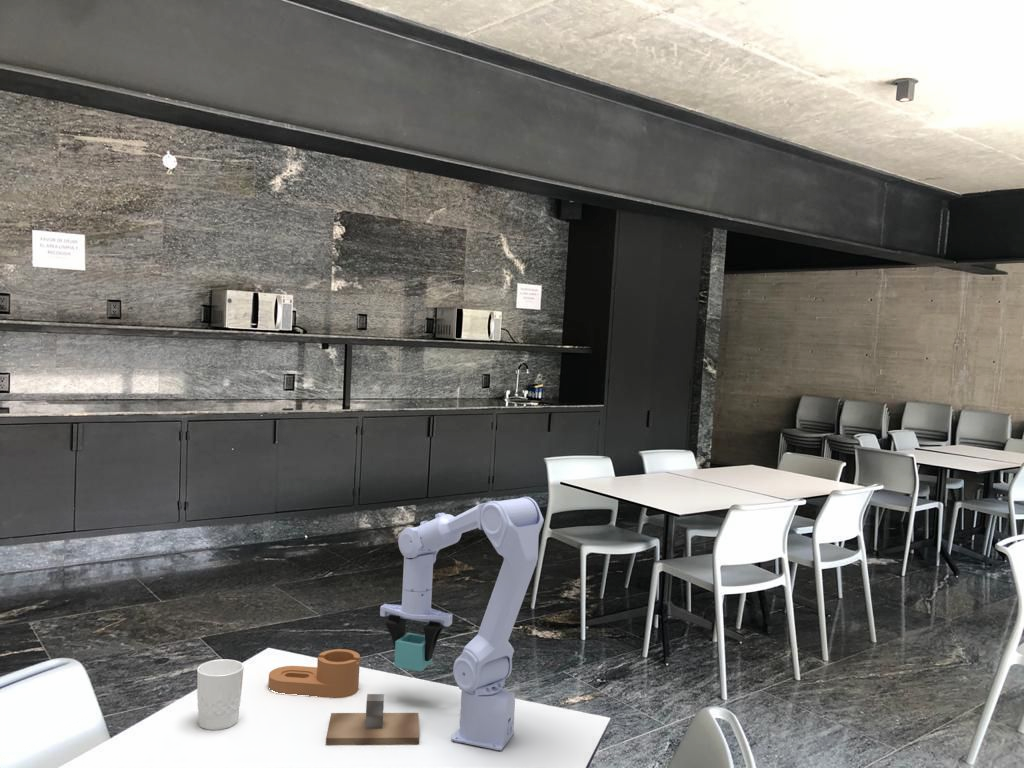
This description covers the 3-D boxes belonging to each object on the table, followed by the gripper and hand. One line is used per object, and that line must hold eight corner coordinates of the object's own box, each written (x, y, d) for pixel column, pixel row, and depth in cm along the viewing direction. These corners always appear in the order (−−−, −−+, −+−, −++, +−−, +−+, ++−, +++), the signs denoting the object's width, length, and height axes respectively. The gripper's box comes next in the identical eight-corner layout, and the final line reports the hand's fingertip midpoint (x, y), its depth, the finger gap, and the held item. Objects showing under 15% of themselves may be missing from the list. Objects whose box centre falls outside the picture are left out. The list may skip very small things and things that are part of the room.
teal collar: (432, 662, 162) (433, 636, 162) (420, 671, 156) (422, 645, 156) (406, 657, 163) (407, 632, 163) (394, 666, 158) (395, 641, 158)
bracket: (362, 683, 169) (364, 650, 168) (352, 700, 160) (354, 665, 160) (276, 677, 169) (277, 644, 169) (262, 693, 161) (263, 659, 161)
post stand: (418, 719, 153) (419, 686, 153) (418, 744, 143) (420, 709, 143) (330, 719, 151) (332, 686, 151) (325, 745, 141) (327, 709, 141)
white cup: (222, 735, 143) (224, 678, 142) (185, 726, 145) (187, 670, 145) (250, 717, 150) (252, 663, 150) (214, 709, 153) (217, 656, 152)
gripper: (459, 587, 161) (456, 655, 162) (392, 578, 166) (389, 644, 166) (445, 596, 154) (442, 668, 155) (376, 586, 159) (373, 656, 159)
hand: (413, 656), depth 160 cm, fingers closed on teal collar, 6 cm apart
